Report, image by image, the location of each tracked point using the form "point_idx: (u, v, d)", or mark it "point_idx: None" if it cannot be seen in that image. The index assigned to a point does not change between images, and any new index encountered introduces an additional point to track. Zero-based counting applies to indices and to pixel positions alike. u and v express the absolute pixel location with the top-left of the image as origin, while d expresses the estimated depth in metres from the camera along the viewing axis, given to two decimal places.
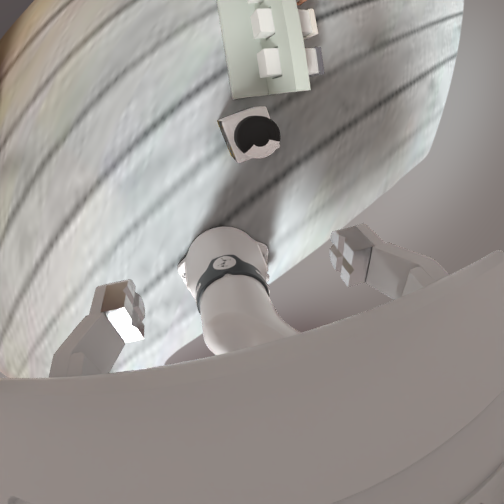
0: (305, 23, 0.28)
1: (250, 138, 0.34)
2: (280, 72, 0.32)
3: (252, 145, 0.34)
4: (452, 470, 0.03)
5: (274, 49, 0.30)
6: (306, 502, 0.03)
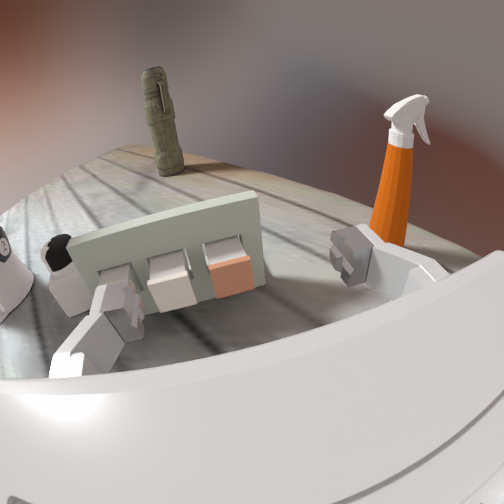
0: (162, 272, 0.29)
1: (56, 237, 0.34)
2: None
3: (51, 239, 0.33)
4: (452, 470, 0.03)
5: None
6: (305, 502, 0.03)
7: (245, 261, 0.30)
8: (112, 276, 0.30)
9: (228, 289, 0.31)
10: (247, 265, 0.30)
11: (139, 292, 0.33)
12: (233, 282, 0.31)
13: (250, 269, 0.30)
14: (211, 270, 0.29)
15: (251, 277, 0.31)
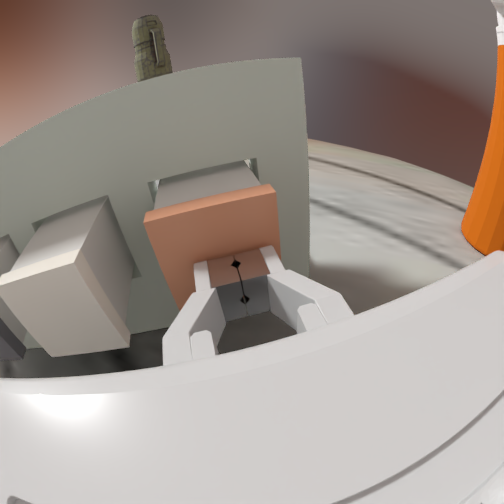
0: (36, 255, 0.08)
1: None
2: None
3: None
4: (452, 470, 0.03)
5: None
6: (305, 502, 0.03)
7: (259, 198, 0.09)
8: None
9: None
10: (265, 213, 0.10)
11: None
12: None
13: (274, 227, 0.10)
14: (150, 225, 0.09)
15: None
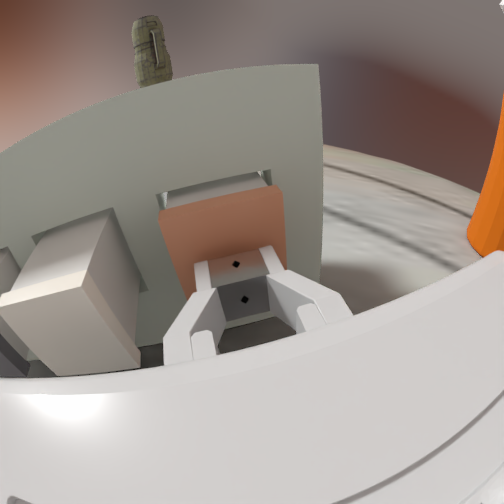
0: (39, 273, 0.08)
1: None
2: None
3: None
4: (452, 470, 0.03)
5: None
6: (305, 502, 0.03)
7: (267, 198, 0.10)
8: None
9: None
10: (272, 212, 0.10)
11: None
12: None
13: (280, 226, 0.11)
14: (164, 223, 0.09)
15: (282, 251, 0.11)
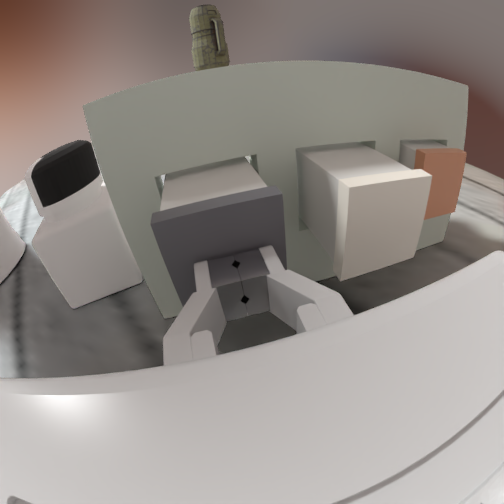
0: (362, 170, 0.11)
1: (61, 146, 0.16)
2: None
3: None
4: (452, 470, 0.03)
5: None
6: (305, 502, 0.03)
7: (461, 154, 0.13)
8: (206, 178, 0.12)
9: (432, 204, 0.14)
10: (461, 162, 0.13)
11: None
12: (441, 191, 0.14)
13: (462, 171, 0.13)
14: (427, 155, 0.12)
15: (458, 187, 0.14)
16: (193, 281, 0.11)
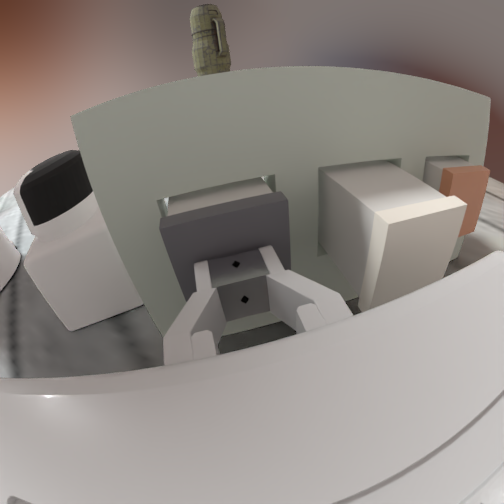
0: (395, 197, 0.09)
1: None
2: None
3: None
4: (452, 470, 0.03)
5: None
6: (305, 502, 0.03)
7: (485, 172, 0.11)
8: None
9: None
10: (484, 181, 0.12)
11: None
12: None
13: (484, 190, 0.12)
14: (455, 176, 0.11)
15: (480, 206, 0.13)
16: None
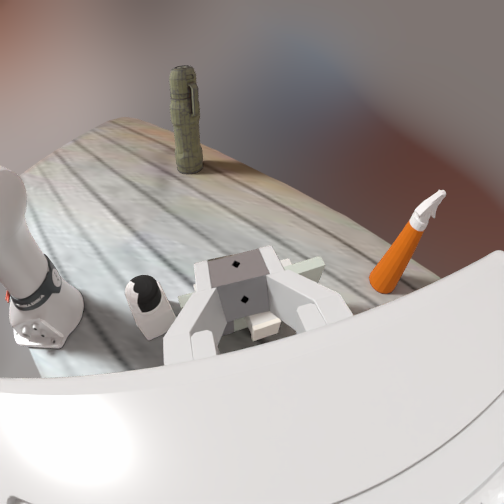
0: (260, 318, 0.43)
1: (139, 280, 0.43)
2: None
3: (134, 282, 0.43)
4: (452, 470, 0.03)
5: None
6: (305, 502, 0.03)
7: None
8: None
9: None
10: None
11: None
12: None
13: None
14: None
15: None
16: None
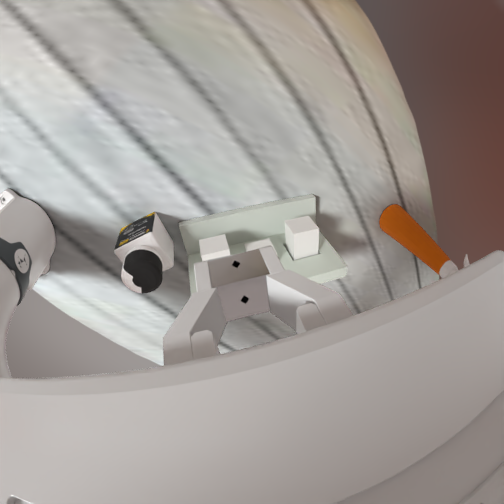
0: None
1: (138, 273, 0.35)
2: None
3: (132, 275, 0.35)
4: (452, 470, 0.03)
5: None
6: (305, 502, 0.03)
7: None
8: None
9: None
10: None
11: None
12: None
13: None
14: None
15: None
16: None
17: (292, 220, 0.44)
